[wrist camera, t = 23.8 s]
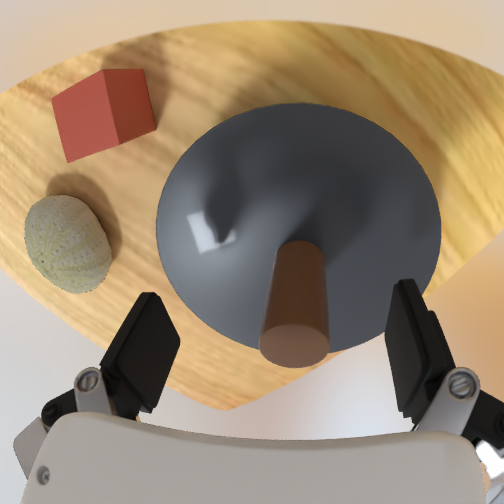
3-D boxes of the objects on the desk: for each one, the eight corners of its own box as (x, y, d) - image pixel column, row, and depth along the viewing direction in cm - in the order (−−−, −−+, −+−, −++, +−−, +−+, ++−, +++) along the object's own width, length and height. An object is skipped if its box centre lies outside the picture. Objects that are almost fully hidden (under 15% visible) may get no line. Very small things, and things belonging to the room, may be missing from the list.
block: (106, 145, 18) (67, 163, 14) (93, 90, 15) (50, 98, 12) (157, 129, 17) (120, 144, 13) (143, 68, 14) (103, 69, 11)
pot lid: (148, 293, 19) (104, 366, 14) (208, 56, 11) (131, 39, 5) (343, 364, 20) (345, 442, 15) (479, 195, 12) (548, 264, 6)
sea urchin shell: (89, 307, 25) (16, 304, 18) (82, 238, 28) (17, 227, 21) (132, 267, 21) (35, 255, 14) (121, 187, 23) (42, 165, 17)
